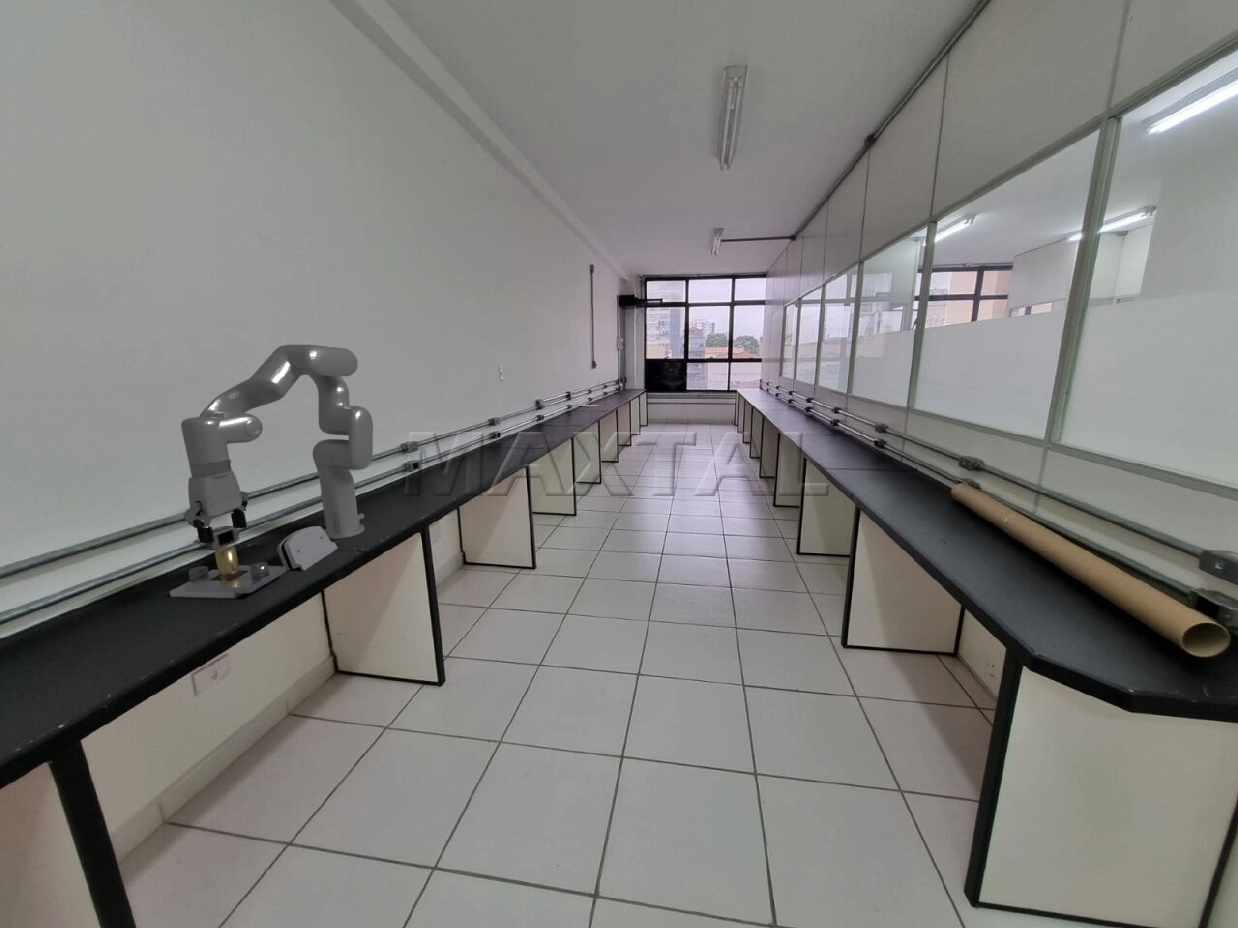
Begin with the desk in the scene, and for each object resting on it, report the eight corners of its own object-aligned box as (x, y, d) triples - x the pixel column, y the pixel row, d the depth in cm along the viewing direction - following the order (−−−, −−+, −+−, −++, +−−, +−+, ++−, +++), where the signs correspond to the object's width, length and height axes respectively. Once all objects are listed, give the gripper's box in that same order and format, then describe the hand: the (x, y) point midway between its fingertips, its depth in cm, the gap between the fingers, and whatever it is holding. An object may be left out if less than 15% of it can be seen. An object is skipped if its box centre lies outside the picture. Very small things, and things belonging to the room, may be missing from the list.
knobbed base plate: (213, 575, 127) (210, 554, 126) (286, 576, 126) (283, 555, 125) (170, 596, 115) (166, 573, 114) (251, 598, 115) (247, 575, 113)
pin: (230, 582, 123) (224, 546, 121) (245, 582, 123) (239, 546, 121) (217, 589, 119) (210, 552, 117) (232, 590, 119) (226, 552, 117)
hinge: (303, 571, 130) (285, 538, 128) (287, 576, 130) (270, 544, 128) (338, 547, 146) (323, 518, 144) (324, 552, 147) (309, 523, 145)
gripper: (226, 460, 123) (238, 522, 127) (161, 477, 106) (177, 548, 110) (254, 460, 123) (265, 522, 127) (193, 478, 106) (208, 549, 110)
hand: (224, 534), depth 118 cm, fingers open, 9 cm apart
